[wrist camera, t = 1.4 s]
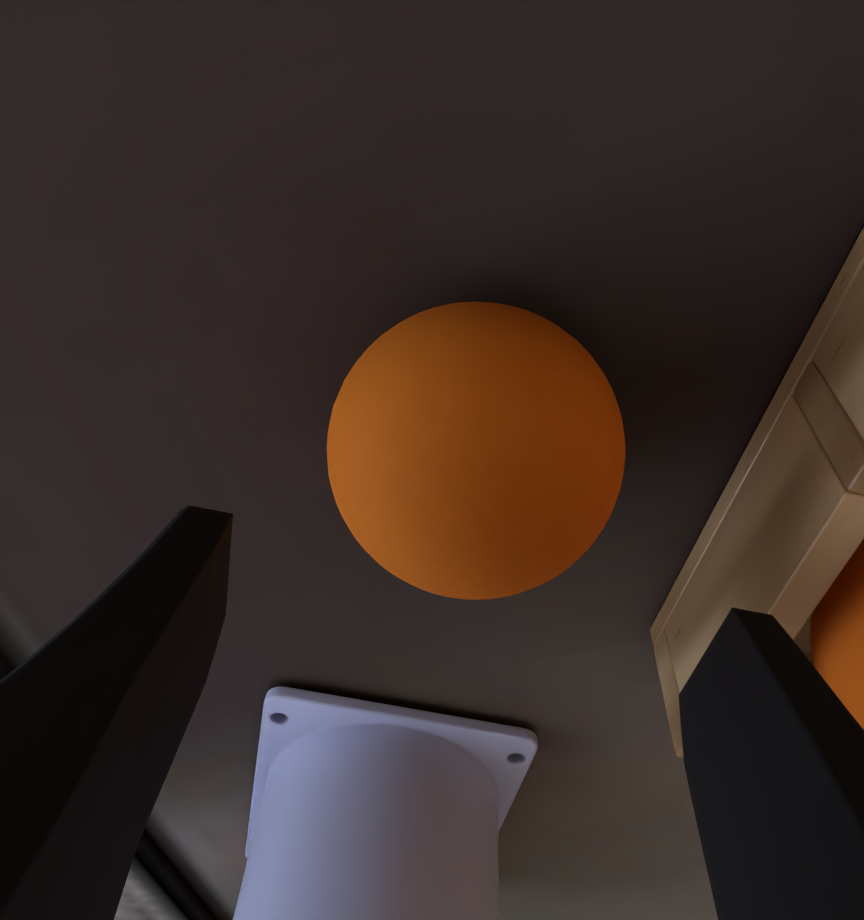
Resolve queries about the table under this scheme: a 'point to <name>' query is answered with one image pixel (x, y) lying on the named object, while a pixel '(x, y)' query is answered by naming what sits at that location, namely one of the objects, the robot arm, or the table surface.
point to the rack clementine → (842, 636)
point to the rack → (781, 500)
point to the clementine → (476, 450)
